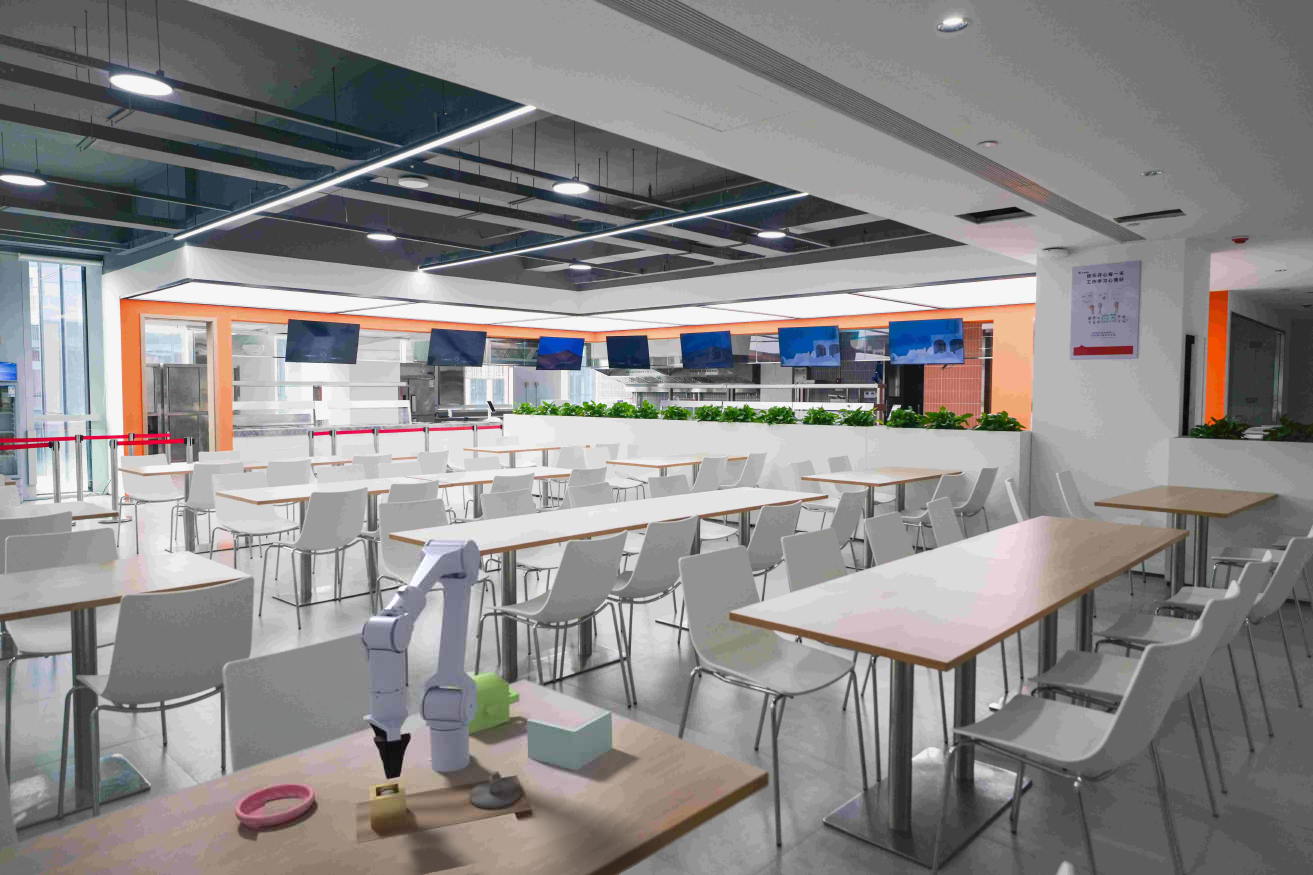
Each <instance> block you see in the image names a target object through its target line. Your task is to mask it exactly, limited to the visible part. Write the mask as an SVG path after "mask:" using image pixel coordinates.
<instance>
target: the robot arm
mask: <svg viewBox="0 0 1313 875" xmlns="http://www.w3.org/2000/svg"><path fill="white" fill-rule="evenodd" d="M420 550H421V551H420V564H419V566H418V567H417V569H416V571H415V573H414V575H413V576H412V577H411V579H410V582H409V583H408V584H406V585H401V586H399V587H398V588H397V590H396V591H395V592H394V593H393V595H392V596H391V598H390V599H389V600H388V601H387V603H386V604H385V606H384V607H383V608H382V610H380V613H379V614H378V615H373V616H371V617H370V618H368V619H367V620H365V623H364V624H363V626H362V630H361V636H360V644H361V647H362V649H363V651H364V654H365V659H366V662H368V670H369V671H368V672H369V673H368V674H369V701H370V704H369V706H370V708H369V709H370V713H369V714H368V715H367V714H366V715H364V716H362V718H363V719H362V721H363V724H369V725H370V726H371V728H372V730H373V733H374V736H373V742H374V744H375V746H376V748H377V749H378V753H379V757H380V759H381V762H382V767H383V770H384V775H385V777H386V780H390V779H396V778H400V777H401V773H402V769H403V768H402V767H403V763H404V759H405V758H404V757H405V753H406V750H407V747H408V745H409V743H410V742H411V738H412V735H411V732H406V733H402V732H401V730H402V726H403V725H404V723H405V722H406V720H407V719H408V717H409V711H408V710H407V683H406V678H407V677H406V674H407V673H406V649H407V648H408V647H409V645H410V643H411V641H412V640H411V639H412V636H413V635H412V634H413V631H414V629H415V625H414V624H415V622H416V621H417V620H418V618H419V617H420V615H421V613H422V612H423V611H424V610H425V608H426V606H427V597H426V596H427V594H428V593H429V592H430V591H431V589H433V587H434V586H435V585H436V583H440V584H441V585H442V587H443V589H444V598H443V599H444V600H443V607H442V609H443V610H442V619H441V620H442V621H441V630H440V637H439V638H440V640H439V651H438V657H437V659H438V660H437V669H436V671H435V673H433V674H432V675H431V676H430V677H429V678H427V679H426V680H425V681H424V684H423V690H422V694H421V696H420V699H419V704H418V711H419V715H420V716H421V719H422V720H423V721H424V722H425V723H426V724H425V726H426V727H429V735H430V736H429V737H430V738H429V740H430V741H429V742H430V744H429V745H430V757H428V758H427V759H426V761H427V762H430V767H431V769H432V770H433V771H434V772H438V773H451V772H457V771H460V770H462V769H465V768H466V767H467V766H469V764H470V738H469V736H470V734H469V729H468V723H470V722H471V721H472V719H473V718H474V717H475V714H476V711H477V706H478V699H477V693H476V687H477V686H476V682H475V681H474V680H473V679H472V678H471V677H472V676H470V675H469V674H468V673H467V672H466V671H465V662H466V651H467V648H466V647H467V641H468V640H467V639H468V628H469V617H470V616H469V615H470V606H471V605H470V604H471V597H472V596H471V595H472V594H471V593H472V585H475V583H478V579H479V575H480V574H479V572H480V562H481V551H480V549H479V547H478V545H477V542H476V541H474V540H473V539H467V540H451V539H450V540H448V539H447V540H446V539H445V540H444V539H443V540H441V539H439V540H437V539H427V541H426V542H425V543H424V545H423V546H422V548H421V549H420ZM448 686H449V687H458V688H460V689H449V688H448ZM443 687H444V688H443Z"/></svg>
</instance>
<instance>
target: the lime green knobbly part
mask: <svg viewBox="0 0 1313 875" xmlns="http://www.w3.org/2000/svg"><path fill="white" fill-rule="evenodd" d="M470 677H471V678H472V679H473V680H474V681H475V682H476V686H477V687H476V693H477V699H478V706H477V711H476V714H475V717H474V718H473V719H472V721H471V722H470V723H468V729H469V735H470V734H475V733H477V732H481V731H484V730H488V729H491V728H493V727H497V726H499V725H502V724H506V723H507V722H509V721H510V720H511V719H510V715H511V714H510V705H513V704H515V703H519V702H520V693H519V692H517V691H515V690H513V689H512V688H510V687H509V686H510V683H509V682H508V681H507V680H505V679H504V678H502V677H501V676H499V675H497V674H496V673H493V672H489V671H488V672H486V673H482V674H481V673H480V674H477V675H473V676H470ZM447 688H449V689H460V688H458V687H449V686H447Z"/></svg>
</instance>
